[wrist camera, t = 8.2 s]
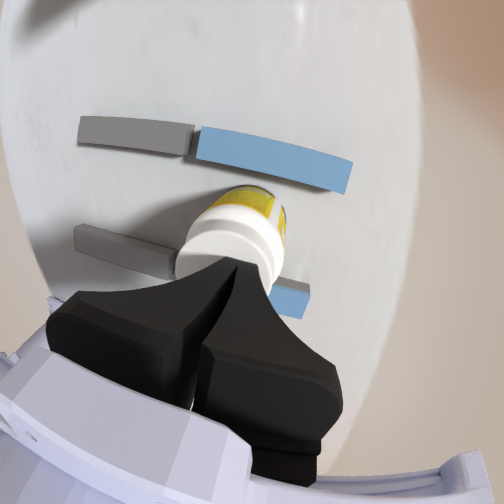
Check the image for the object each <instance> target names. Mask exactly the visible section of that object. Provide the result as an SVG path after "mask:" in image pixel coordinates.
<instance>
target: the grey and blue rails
mask: <svg viewBox="0 0 504 504" xmlns="http://www.w3.org/2000/svg"><path fill="white" fill-rule="evenodd" d="M194 127H195V125H190V124H183V123H175V122H167V121H158V120H148V119H136V118H121V117H100V116H81V118H80V125H79V133H78V141H77V142H84V143H95V144H105V145H114V146H122V147H130V148H138V149H145V150H152V151H159V152H165V153H171V154H177V155H188V154H190V148H191V143H192V137H193V132H194ZM196 159H201V160H206V161H211V162H216V163H221V164H226V165H231V166H236V167H240V168H245V169H249V170H254V171H258V172H262V173H266V174H271V175H275V176H279V177H283V178H287V179H290V180H294V181H298V182H302V183H306V184H309V185H313V186H316V187H320V188H323V189H327V190H330V191H334V192H337V193H340V194H344V193H345V190H346V186H347V183H348V179H349V176H350V172H351V169H352V165H353V162H351V161H348V160H345V159H342V158H338V157H335V156H332V155H329V154H325V153H322V152H318V151H315V150H311V149H307V148H304V147H300V146H296V145H292V144H288V143H284V142H280V141H276V140H271V139H267V138H263V137H258V136H253V135H248V134H243V133H238V132H233V131H228V130H222V129H216V128H210V127H203V126H202V128H201V133H200V138H199V143H198V149H197V154H196ZM74 243H75V250H76V251H78V252H81V253H84V254H87V255H90V256H93V257H96V258H99V259H101V260H104V261H107V262H110V263H113V264H116V265H119V266H123V267H126V268H129V269H132V270H135V271H138V272H141V273H144V274H148V275H151V276H154V277H157V278H161V279H164V280H168V279H169V278H170V277H171V275H172V274H173V270H174V260H175V250H174V249H171V248H167V247H163V246H160V245H156V244H152V243H149V242H145V241H142V240H138V239H134V238H131V237H127V236H124V235H120V234H117V233H113V232H109V231H106V230H102V229H99V228H95V227H92V226H88V225H85V224H81V225H79V226H77V227H75V228H74ZM268 298H269V300H270V302H271V304H272V306H273V308H274V309H275V311H276V313H277V314H281V315H285V316H290V317H294V318H298V319H302V316H303V314H304V311H305V309H306V306H307V303H308V301H309V298H310V287H309V284H306V283H302V282H298V281H294V280H290V279H286V278H282V277H278V278H277V279H276V281H275V282H274V283H273V284H272V288H271V291H270V294H269V296H268Z"/></svg>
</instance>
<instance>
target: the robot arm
mask: <svg viewBox="0 0 504 504" xmlns="http://www.w3.org/2000/svg"><path fill="white" fill-rule="evenodd" d="M48 305H49V309H50V314H51V315H50V317H49V318H48V320H47V321H46V323H45V324H44V325H43V326H42V327H41V328H39V330H37V331H36V333H34V334H33V335H32V336H31V337H30V338H29V339H28V340H27V341H26V342H25V343H24V344H23V345H22V346H21V347H20V348H19V349H18V350H17V351H16V352H15V353H13V354H12V355H11V356H10V357H9V358H7V355H6V353H5V352H0V504H495V502H494V497H493V493H492V489H491V485H490V482H489V478H488V474H487V471H486V468H485V464H484V461H483V458H482V456H481V452H480V450H474V451H470V452H466V453H461V454H458V455H456V456H454V457H452V458H450V459H449V460H447V461H446V462H445V463H444V464H443V465H441V467H440V468H435V469H429V470H423V471H417V472H409V473H402V474H391V475H376V476H318V475H317V456H318V455H319V454H320V453H321V439H322V438H323V437H324V436H325V435H326V433H327V432H328V431H329V430H330V429H331V428H332V426H333V425H334V424H335V423H336V422H337V420H338V419H339V417H340V415H341V413H342V410H343V398H342V390H341V385H340V381H339V378H338V374H337V371H336V367H335V365H333V364H332V363H330V362H329V361H327V360H326V359H324V358H323V357H322V356H320V355H319V354H317V353H316V352H314V351H313V350H312V349H310V348H309V347H308V346H307V345H306V344H305V343H303V342H302V341H301V340H300V339H299V338H298V337H297V336H296V335H295V334H294V333H293V332H292V331H291V330H290V329H289V328H288V327H287V325H286V324H285V323H284V322H283V321H282V319H281V318H280V317H279V315H278V314H277V313H276V311H275V309H274V308H273V306H272V304H271V302H270V300H269V298H268V296H267V294H266V292H265V289H264V287H263V284H262V281H261V278H260V274H259V267H258V265H257V264H254V263H250V262H246V261H242V260H239V259H235V258H231V257H227V256H226V257H224V258H222V259H220V260H218V261H216V262H215V263H213V264H211V265H209V266H207V267H206V268H204V269H202V270H200V271H197V272H195V273H193V274H191V275H188V276H186V277H184V278H181V279H178V280H175V281H172V282H169V283H166V284H162V285H158V286H153V287H147V288H142V289H136V290H127V291H113V292H97V291H78V292H76V293H75V294H74V295H73V296H72V297H70V298H69V299H68V300H67V301H66V302H65V303H63V302H61V301H59V300H57V299H55V298H53V297H49V298H48ZM193 399H194V403H193V407H192V410H191V411H190V408H191V405H192V402H193Z"/></svg>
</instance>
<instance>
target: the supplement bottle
mask: <svg viewBox="0 0 504 504" xmlns="http://www.w3.org/2000/svg"><path fill="white" fill-rule="evenodd" d="M285 235H286V214H285V211H284V208H283V206H282V204H281V202H280V200H279V199H278V198H277V197H276V196H275V195H274V194H273V193H272V192H270V191H269V190H267V189H266V188H264V187H261V186H258V185H252V184H246V185H240V186H237V187H234V188H232V189H230V190H229V191H227V192H226V193H225V194H223V195H222V196H221V197H220V198H219V199H218V200H217V201H216V202H214V203H213V204H212V205H211V206H210V207H209V208H208V209H207V210H205V211H204V212H203V213H202V214H201V215H200V216H199V217H198V218H197V219H196V220H195V221H194V223H193V224H192V226H191V227H190V229H189V231H188V234H187V237H186V242H185V244H184V245H183V246H182V248H181V249H180V251H179V254H178V256H177V259H176V264H175V275H176V280H178V279H181V278H184V277H186V276H188V275H191V274H193V273H195V272H197V271H200V270H202V269H204V268H206V267H207V266H209V265H211V264H213V263H215V262H216V261H218V260H220V259H222V258H224V257H226V256H227V257H231V258H235V259H239V260H242V261H246V262H250V263H254V264H257V265H258V267H259V274H260V278H261V281H262V284H263V287H264V289H265V292H266V294H267V296H269V294H270V291H271V288H272V284H273V283H274V282H275V281H276V279H277V278H278V276H279V274H280V272H281V269H282V266H283V262H284V251H285Z"/></svg>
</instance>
